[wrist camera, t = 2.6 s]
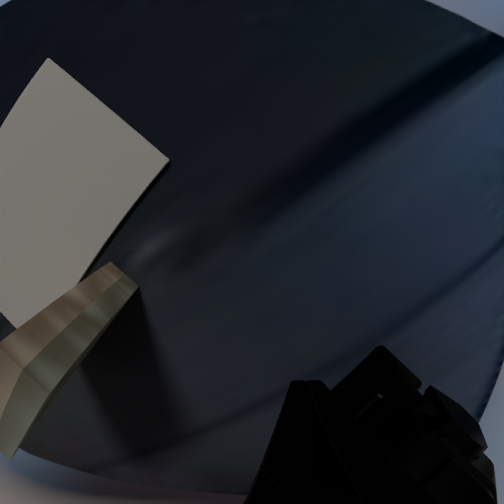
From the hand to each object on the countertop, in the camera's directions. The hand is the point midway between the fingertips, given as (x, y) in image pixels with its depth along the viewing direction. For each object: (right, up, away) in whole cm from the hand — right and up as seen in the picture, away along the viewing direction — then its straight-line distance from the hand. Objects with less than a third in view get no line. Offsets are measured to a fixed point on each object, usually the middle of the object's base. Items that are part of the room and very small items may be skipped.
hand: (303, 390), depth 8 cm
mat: (-17, +7, +10) cm, 21 cm away
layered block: (-12, 0, +12) cm, 17 cm away
